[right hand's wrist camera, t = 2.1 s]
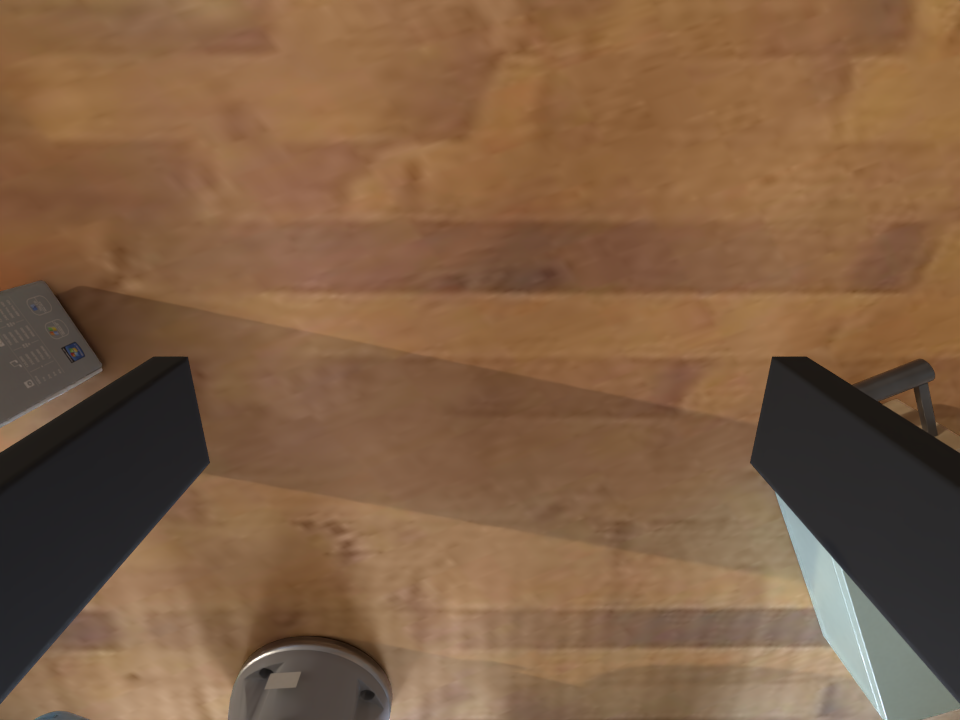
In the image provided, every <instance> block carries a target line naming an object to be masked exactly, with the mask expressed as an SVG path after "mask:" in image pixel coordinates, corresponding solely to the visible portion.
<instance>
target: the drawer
mask: <svg viewBox="0 0 960 720" xmlns="http://www.w3.org/2000/svg"><path fill="white" fill-rule="evenodd" d="M934 379H935V373H934V370H933V368H932V367H931V365H930V364H929V363H928V362H926V361H925V360H923V359H917V360H914V361H912V362H909V363H907V364H904V365H902V366H899V367H897V368H894V369H891V370H889V371H886V372H884V373H881V374H879V375H876V376H874V377H871V378H869V379H866V380H864V381H861V382H858V383H856V384H853V385H852V386H854V387H856V388H857V389H859V390H860V391H862V392H864V393H865V394H867V395H868V396H870V397H871V398H873V399H875V400H876V401H881V400H883V399H886V398H889V397H891V396H894V395H896V394H899V393H902V392H904V391H907V390H909V389H912V388H914V393H915V397H916V402H917V407H918V411H917V410H915V409H913V408H912V407H910V406H908V405H907V404H905V403H903V402H902V401H900V400H898V399H894V400H891V401H889V402H886V403H884V404H883V405H884V406H886V407H887V408H889V409H891V410H892V411H894V412H895V413H897V414H899V415H900V416H902V417H903V418H905V419H907V420H908V421H910V422H911V423H913V424H915V425H916V426H918V427H919V428H921V429H923V430H924V431H926V432H927V433H929V434H930V435H932V436H934V437H935V438H937V439H938V440H940V441H942V442H943V443H945V444H946V445H948V446H950V447H951V448H953V449H954V450H956V451H958V452H959V453H960V436H959V435H957V434H956V433H954V432H952V431H951V430H949V429H947V428H946V427H944V426H942V425H941V424H939V423H937V422H935V417H934V412H933V407H932V402H931V397H930V392H929V387H928V382H930V381H933V380H934Z"/></svg>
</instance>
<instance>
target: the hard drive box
mask: <svg viewBox="0 0 960 720" xmlns="http://www.w3.org/2000/svg"><path fill="white" fill-rule="evenodd" d="M101 367H102V363H101V362H100V361H99V359H98V358H97V356H96V355H95V353H94V352H93V350H92V349H91V348H90V346H89V345H88V343H87V342H86V340H85V339H84V337H83V336H82V334H81V333H80V332H79V330H78V329H77V327H76V326H75V324H74V323H73V321H72V320H71V318H70V317H69V316H68V314H67V313H66V311H65V310H64V308H63V307H62V305H61V304H60V302H59V301H58V299H57V298H56V297H55V295H54V294H53V292H52V291H51V289H50V288H49V287H48V285H47V284H46V283H45V282H44V281H37V282H33V283H30V284H26V285H22V286H19V287H15V288H11V289H7V290H4V291H0V428H1V427H3V426H4V425H6V424H8V423H10V422H12V421H13V420H15V419H17V418H19V417H21V416H23V415H24V414H26V413H28V412H30V411H32V410H34V409H35V408H37V407H39V406H41V405H43V404H44V403H46V402H48V401H50V400H52V399H54V398H55V397H57V396H59V395H61V394H63V393H64V392H66V391H68V390H70V389H72V388H74V387H75V386H77V385H79V384H81V383H82V382H84V381H86V380H88V379H90V378H91V377H93V376H95V375H96V374H98V373H100V372H101V371H102V370H103V369H102V368H101Z"/></svg>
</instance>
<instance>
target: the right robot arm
mask: <svg viewBox="0 0 960 720" xmlns="http://www.w3.org/2000/svg"><path fill="white" fill-rule="evenodd" d="M209 463H210V461H209V456H208V452H207V447H206V442H205V437H204V432H203V428H202V423H201V418H200V413H199V409H198V404H197V399H196V394H195V389H194V385H193V380H192V375H191V370H190V365H189V361H188V357H152V358H151V359H149V360H147V361H146V362H144V363H143V364H141V365H140V366H138V367H136V368H135V369H133V370H132V371H130V372H128V373H127V374H125V375H124V376H122V377H120V378H119V379H117V380H116V381H114V382H112V383H111V384H109V385H108V386H106V387H104V388H103V389H101V390H100V391H98V392H96V393H95V394H93V395H92V396H90V397H89V398H87V399H85V400H84V401H82V402H81V403H79V404H77V405H76V406H74V407H73V408H71V409H69V410H68V411H66V412H65V413H63V414H61V415H60V416H58V417H57V418H55V419H53V420H52V421H50V422H49V423H47V424H45V425H44V426H42V427H41V428H39V429H37V430H36V431H34V432H33V433H31V434H30V435H28V436H26V437H25V438H23V439H22V440H20V441H18V442H17V443H15V444H14V445H12V446H10V447H9V448H7V449H6V450H4V451H2V452H1V453H0V704H1V703H2V701H3V700H4V699H5V698H6V697H7V696H8V695H9V693H10V692H11V691H12V690H13V689H14V688H15V686H16V685H17V684H18V683H19V682H20V681H21V680H22V678H23V677H24V676H25V675H26V674H27V673H28V672H29V670H30V669H31V668H32V667H33V666H34V665H35V663H36V662H37V661H38V660H39V659H40V658H41V657H42V655H43V654H44V653H45V652H46V651H47V650H48V649H49V647H50V646H51V645H52V644H53V643H54V642H55V640H56V639H57V638H58V637H59V636H60V635H61V634H62V632H63V631H64V630H65V629H66V628H67V627H68V626H69V624H70V623H71V622H72V621H73V620H74V619H75V617H76V616H77V615H78V614H79V613H80V612H81V611H82V609H83V608H84V607H85V606H86V605H87V604H88V602H89V601H90V600H91V599H92V598H93V597H94V596H95V594H96V593H97V592H98V591H99V590H100V589H101V588H102V586H103V585H104V584H105V583H106V582H107V581H108V579H109V578H110V577H111V576H112V575H113V574H114V573H115V571H116V570H117V569H118V568H119V567H120V566H121V565H122V563H123V562H124V561H125V560H126V559H127V558H128V556H129V555H130V554H131V553H132V552H133V551H134V550H135V548H136V547H137V546H138V545H139V544H140V543H141V541H142V540H143V539H144V538H145V537H146V536H147V535H148V533H149V532H150V531H151V530H152V529H153V528H154V527H155V525H156V524H157V523H158V522H159V521H160V520H161V518H162V517H163V516H164V515H165V514H166V513H167V512H168V510H169V509H170V508H171V507H172V506H173V505H174V504H175V502H176V501H177V500H178V499H179V498H180V497H181V495H182V494H183V493H184V492H185V491H186V490H187V489H188V487H189V486H190V485H191V484H192V483H193V482H194V480H195V479H196V478H197V477H198V476H199V475H200V474H201V472H202V471H203V470H204V469H205V468H206V467H207V466H208V464H209ZM750 463H751V464H752V466H753V467H754V468H755V469H756V470H757V471H758V472H759V474H760V475H761V476H762V477H763V478H764V479H765V480H766V482H767V483H768V484H769V485H770V486H771V487H772V489H773V490H774V491H775V492H776V493H777V494H778V495H779V497H780V498H781V499H782V500H783V501H784V502H785V504H786V505H787V506H788V507H789V508H790V509H791V510H792V512H793V513H794V514H795V515H796V516H797V517H798V518H799V520H800V521H801V522H802V523H803V524H804V525H805V527H806V528H807V529H808V530H809V531H810V532H811V533H812V535H813V536H814V537H815V538H816V539H817V540H818V541H819V543H820V544H821V545H822V546H823V547H824V548H825V550H826V551H827V552H828V553H829V554H830V555H831V556H832V558H833V559H834V560H835V561H836V562H837V563H838V565H839V566H840V567H841V568H842V569H843V570H844V571H845V573H846V574H847V575H848V576H849V577H850V578H851V579H852V581H853V582H854V583H855V584H856V585H857V586H858V588H859V589H860V590H861V591H862V592H863V593H864V594H865V596H866V597H867V598H868V599H869V600H870V601H871V602H872V604H873V605H874V606H875V607H876V608H877V609H878V611H879V612H880V613H881V614H882V615H883V616H884V617H885V619H886V620H887V621H888V622H889V623H890V624H891V626H892V627H893V628H894V629H895V630H896V631H897V632H898V634H899V635H900V636H901V637H902V638H903V639H904V640H905V642H906V643H907V644H908V645H909V646H910V647H911V649H912V650H913V651H914V652H915V653H916V654H917V655H918V657H919V658H920V659H921V660H922V661H923V662H924V663H925V665H926V666H927V667H928V668H929V669H930V670H931V672H932V673H933V674H934V675H935V676H936V677H937V678H938V680H939V681H940V682H941V683H942V684H943V685H944V687H945V688H946V689H947V690H948V691H949V692H950V693H951V695H952V696H953V697H954V698H955V699H956V700H957V701H958V703H959V704H960V453H959V452H958V451H956V450H954V449H953V448H951V447H950V446H948V445H946V444H945V443H943V442H942V441H940V440H938V439H937V438H935V437H934V436H932V435H930V434H929V433H927V432H926V431H924V430H923V429H921V428H919V427H918V426H916V425H915V424H913V423H911V422H910V421H908V420H907V419H905V418H903V417H902V416H900V415H899V414H897V413H895V412H894V411H892V410H891V409H889V408H887V407H886V406H884V405H883V404H881V403H879V402H878V401H876V400H875V399H873V398H871V397H870V396H868V395H867V394H865V393H864V392H862V391H860V390H859V389H857V388H856V387H854V386H852V385H851V384H849V383H848V382H846V381H844V380H843V379H841V378H840V377H838V376H836V375H835V374H833V373H832V372H830V371H828V370H827V369H825V368H824V367H822V366H820V365H819V364H817V363H816V362H814V361H813V360H811V359H809V358H808V357H772V361H771V365H770V370H769V375H768V380H767V385H766V389H765V394H764V399H763V404H762V409H761V413H760V418H759V423H758V428H757V432H756V437H755V442H754V447H753V452H752V456H751V461H750ZM391 705H392V689H391V685H390V682H389V680H388V678H387V676H386V674H385V672H384V671H383V670H382V668H381V667H380V666H379V665H378V664H377V663H376V662H375V661H374V660H373V659H372V658H371V657H369V656H368V655H367V654H365V653H364V652H362V651H360V650H359V649H357V648H355V647H353V646H350V645H348V644H346V643H343V642H340V641H337V640H333V639H328V638H323V637H312V636H300V637H291V638H285V639H281V640H278V641H275V642H272V643H269V644H267V645H265V646H263V647H262V648H260V649H258V650H257V651H256V652H254V653H253V654H252V655H251V656H250V657H249V658H248V659H247V660H246V662H245V663H244V665H243V666H242V668H241V670H240V673H239V675H238V677H237V679H236V681H235V684H234V686H233V690H232V694H231V698H230V704H229V713H228V720H389V718H390V711H391ZM34 720H89V719H87V718H84V717H81V716H78V715H76V714H73V713H70V712H66V711H55V712H50V713H47V714H44V715H42V716H40V717H38V718H36V719H34Z"/></svg>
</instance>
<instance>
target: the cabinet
mask: <svg viewBox="0 0 960 720" xmlns="http://www.w3.org/2000/svg"><path fill="white" fill-rule="evenodd" d="M775 493H776V492H775ZM776 496H777V499H778V502H779V505H780V508H781V511H782V514H783V517H784V520H785V523H786V526H787V529H788V532H789V535H790V538H791V541H792V544H793V547H794V550H795V553H796V556H797V559H798V562H799V565H800V568H801V571H802V574H803V577H804V580H805V583H806V586H807V589H808V592H809V595H810V597H811V600H812V603H813V606H814V609H815V612H816V615H817V618H818V621H819V624H820V627H821V630H822V633H823V636H824V637H825V639H826V640H827V641H828V643H829V644H830V646H831V647H832V649H833V650H834V651H835V653H836V654H837V656H838V657H839V658H840V660H841V661H842V663H843V664H844V665H845V667H846V668H847V670H848V671H849V672H850V674H851V675H852V677H853V678H854V680H855V681H856V682H857V684H858V685H859V687H860V688H861V689H862V691H863V692H864V694H865V695H866V696H867V698H868V699H869V701H870V702H871V703H872V705H873V706H874V708H875V709H876V711H877V712H878V713H879V715H880V716H881V717H882V719H883V720H922V719H926V718H929V717H932V716H936V715H939V714H943V713H946V712H950V711H953V710H957V709H960V704H959V703H958V701H957V700H956V699H955V698H954V697H953V696H952V695H951V693H950V692H949V691H948V690H947V689H946V688H945V687H944V685H943V684H942V683H941V682H940V681H939V680H938V678H937V677H936V676H935V675H934V674H933V673H932V672H931V670H930V669H929V668H928V667H927V666H926V665H925V663H924V662H923V661H922V660H921V659H920V658H919V657H918V655H917V654H916V653H915V652H914V651H913V650H912V649H911V647H910V646H909V645H908V644H907V643H906V642H905V640H904V639H903V638H902V637H901V636H900V635H899V634H898V632H897V631H896V630H895V629H894V628H893V627H892V626H891V624H890V623H889V622H888V621H887V620H886V619H885V617H884V616H883V615H882V614H881V613H880V612H879V611H878V609H877V608H876V607H875V606H874V605H873V604H872V602H871V601H870V600H869V599H868V598H867V597H866V596H865V594H864V593H863V592H862V591H861V590H860V589H859V588H858V586H857V585H856V584H855V583H854V582H853V581H852V579H851V578H850V577H849V576H848V575H847V574H846V573H845V571H844V570H843V569H842V568H841V567H840V566H839V565H838V563H837V562H836V561H835V560H834V559H833V558H832V556H831V555H830V554H829V553H828V552H827V551H826V550H825V548H824V547H823V546H822V545H821V544H820V543H819V541H818V540H817V539H816V538H815V537H814V536H813V535H812V533H811V532H810V531H809V530H808V529H807V528H806V527H805V525H804V524H803V523H802V522H801V521H800V520H799V518H798V517H797V516H796V515H795V514H794V513H793V512H792V510H791V509H790V508H789V507H788V506H787V505H786V504H785V502H784V501H783V500H782V499H781V498H780V497H779V495H778V494H777V493H776Z"/></svg>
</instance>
